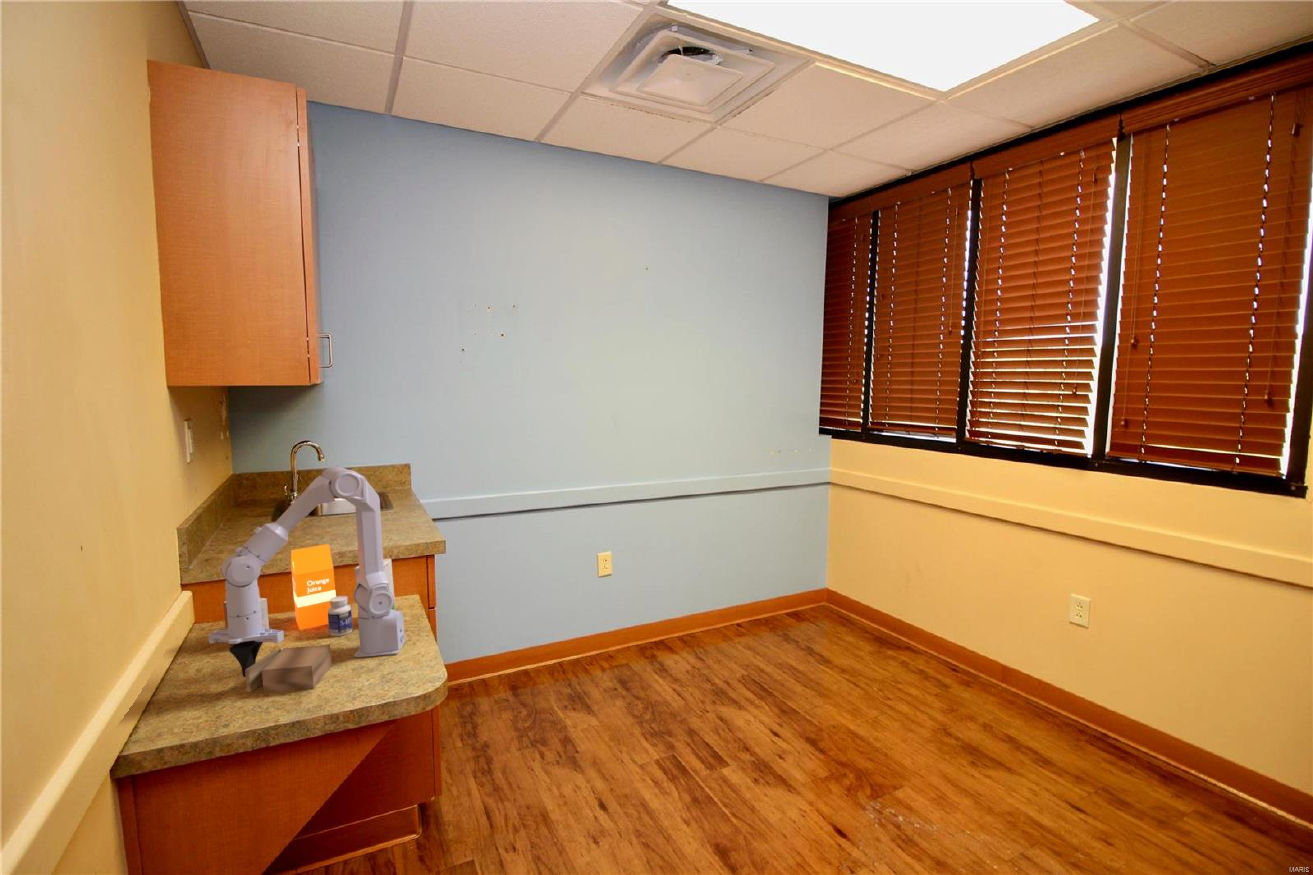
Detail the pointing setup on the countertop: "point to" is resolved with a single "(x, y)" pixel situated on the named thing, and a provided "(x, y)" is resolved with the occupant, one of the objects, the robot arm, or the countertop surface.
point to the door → (258, 671)
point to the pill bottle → (339, 616)
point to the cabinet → (296, 669)
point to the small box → (263, 613)
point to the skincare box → (388, 574)
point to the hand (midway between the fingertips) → (249, 675)
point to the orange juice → (312, 585)
